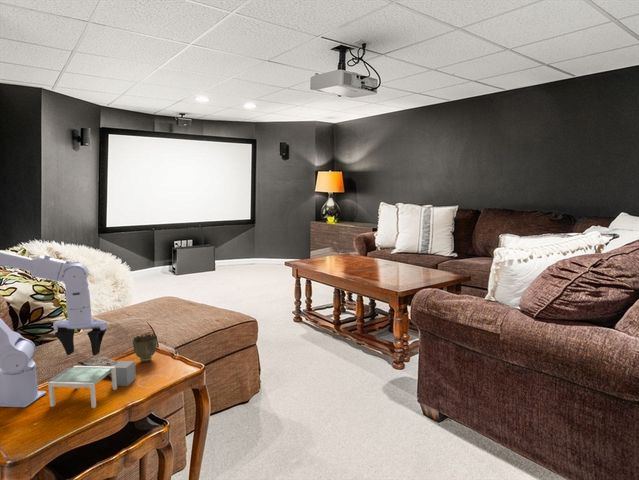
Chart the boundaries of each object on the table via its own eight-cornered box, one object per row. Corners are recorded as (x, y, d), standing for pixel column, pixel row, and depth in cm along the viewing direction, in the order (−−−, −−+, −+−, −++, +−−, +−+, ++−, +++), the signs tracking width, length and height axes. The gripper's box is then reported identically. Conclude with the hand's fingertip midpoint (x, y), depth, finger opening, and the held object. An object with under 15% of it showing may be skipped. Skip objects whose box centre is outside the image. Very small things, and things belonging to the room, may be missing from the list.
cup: (138, 356, 142) (137, 333, 141) (161, 356, 142) (159, 333, 141) (130, 365, 135) (128, 341, 134) (153, 365, 135) (152, 341, 134)
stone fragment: (117, 385, 124) (145, 371, 132) (116, 376, 123) (145, 363, 132) (64, 367, 135) (93, 356, 144) (63, 359, 135) (92, 348, 143)
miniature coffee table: (50, 406, 110) (48, 382, 109) (76, 387, 120) (74, 365, 120) (94, 407, 109) (92, 384, 108) (117, 388, 119) (115, 366, 119)
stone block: (112, 385, 121) (111, 367, 121) (121, 378, 126) (119, 360, 125) (127, 386, 121) (126, 367, 120) (135, 378, 126) (134, 361, 125)
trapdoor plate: (48, 386, 110) (47, 380, 110) (69, 372, 119) (68, 367, 119) (93, 387, 109) (93, 382, 109) (111, 373, 118) (111, 368, 118)
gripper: (112, 302, 120) (115, 348, 121) (63, 302, 121) (68, 347, 123) (97, 310, 113) (101, 358, 114) (46, 309, 114) (51, 357, 116)
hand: (83, 353), depth 118 cm, fingers open, 7 cm apart
